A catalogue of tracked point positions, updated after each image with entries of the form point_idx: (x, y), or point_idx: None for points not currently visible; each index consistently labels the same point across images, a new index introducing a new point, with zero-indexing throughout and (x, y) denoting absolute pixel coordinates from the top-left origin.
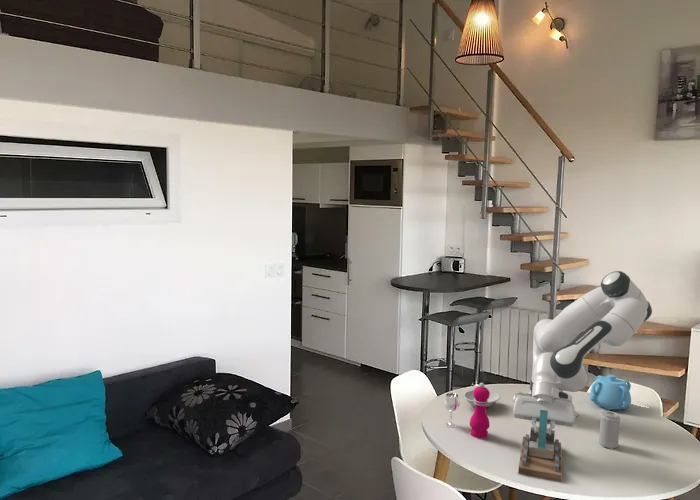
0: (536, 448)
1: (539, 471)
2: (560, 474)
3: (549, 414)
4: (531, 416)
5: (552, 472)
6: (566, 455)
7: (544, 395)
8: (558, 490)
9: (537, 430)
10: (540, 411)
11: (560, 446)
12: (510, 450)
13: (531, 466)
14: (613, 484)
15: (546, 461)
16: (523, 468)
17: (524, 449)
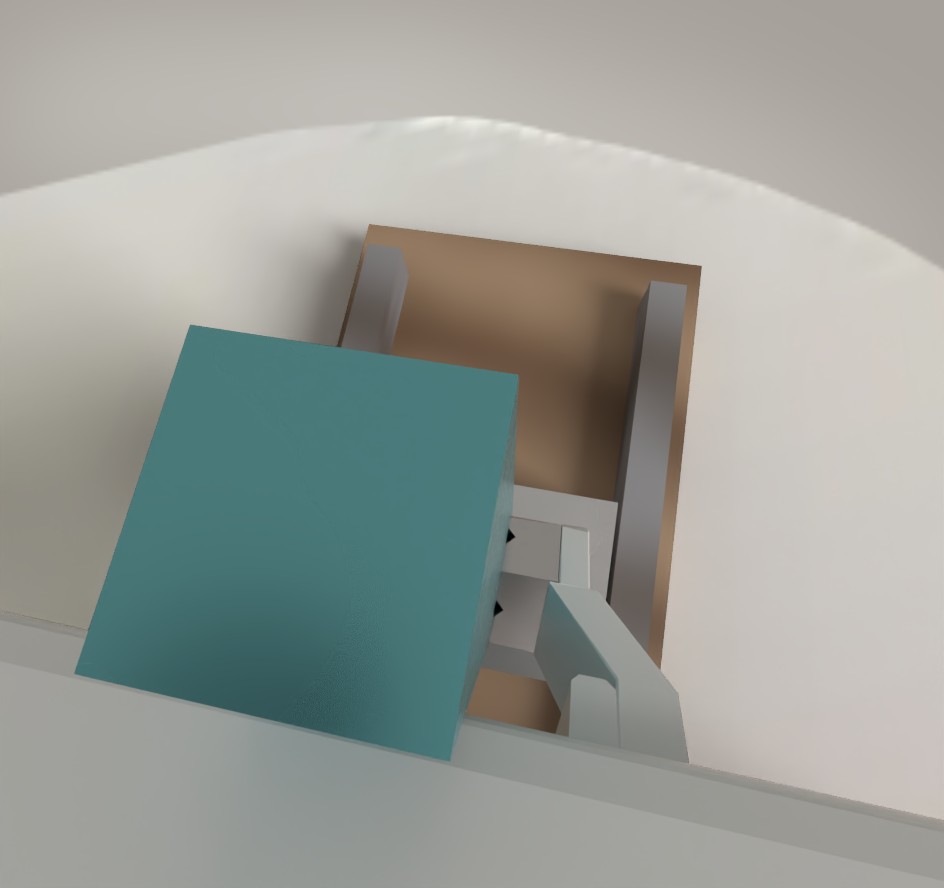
0: (530, 489)
1: (532, 246)
2: (373, 237)
3: (100, 799)
4: (726, 775)
5: (429, 251)
6: None
7: None
8: (426, 137)
9: (533, 523)
10: (484, 480)
11: None
12: (748, 752)
13: (589, 310)
14: (24, 301)
15: None
16: (660, 261)
17: (651, 539)
